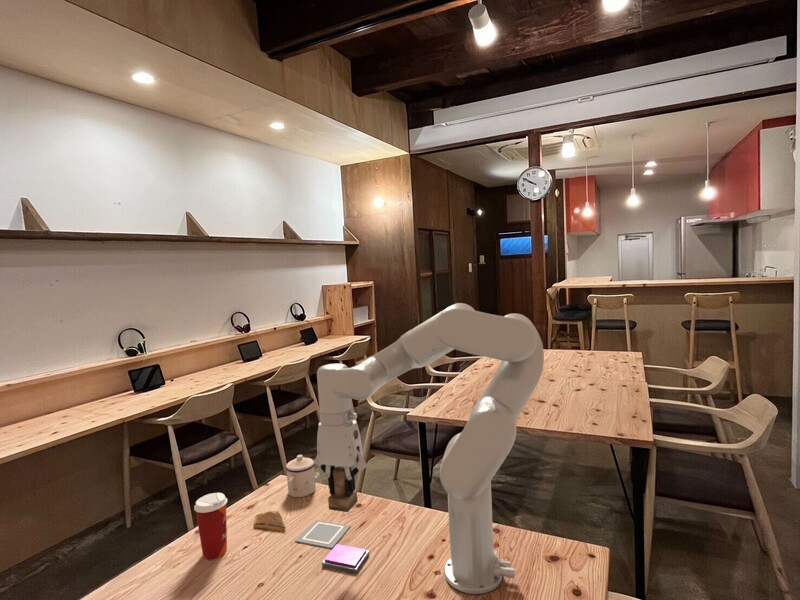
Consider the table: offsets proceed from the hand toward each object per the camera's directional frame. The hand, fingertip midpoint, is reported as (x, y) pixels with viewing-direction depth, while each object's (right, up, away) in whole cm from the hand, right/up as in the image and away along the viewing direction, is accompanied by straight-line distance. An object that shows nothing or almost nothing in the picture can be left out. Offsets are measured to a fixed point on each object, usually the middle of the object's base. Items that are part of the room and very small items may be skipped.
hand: (342, 492), depth 103 cm
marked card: (-7, -17, +12) cm, 22 cm away
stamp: (0, -3, 0) cm, 3 cm away
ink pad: (+1, -17, +1) cm, 17 cm away
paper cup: (-33, -19, +7) cm, 39 cm away
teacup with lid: (-18, -16, +35) cm, 43 cm away
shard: (-22, -18, +20) cm, 35 cm away
